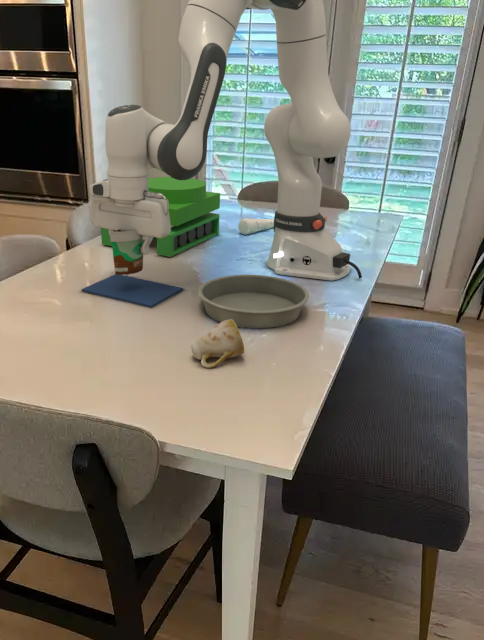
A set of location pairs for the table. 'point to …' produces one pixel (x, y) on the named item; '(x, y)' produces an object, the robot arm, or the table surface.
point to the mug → (219, 343)
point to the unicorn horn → (254, 225)
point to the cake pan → (253, 300)
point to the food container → (127, 252)
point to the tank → (183, 214)
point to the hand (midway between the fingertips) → (131, 251)
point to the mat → (133, 290)
